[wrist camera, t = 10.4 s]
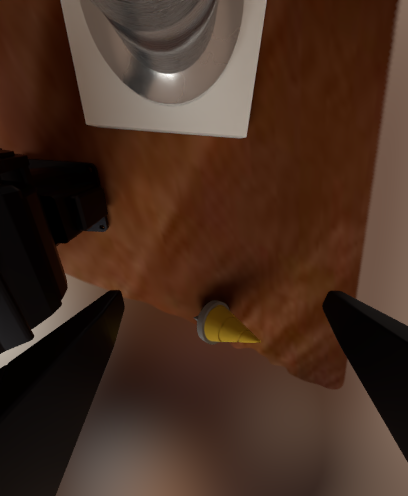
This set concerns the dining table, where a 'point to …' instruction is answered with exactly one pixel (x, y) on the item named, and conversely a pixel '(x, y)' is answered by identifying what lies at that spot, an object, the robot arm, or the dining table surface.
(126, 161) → the dining table surface
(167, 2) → the silver flared knob
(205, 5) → the silver round piece
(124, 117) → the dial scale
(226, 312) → the yellow spiral cone
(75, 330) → the robot arm
